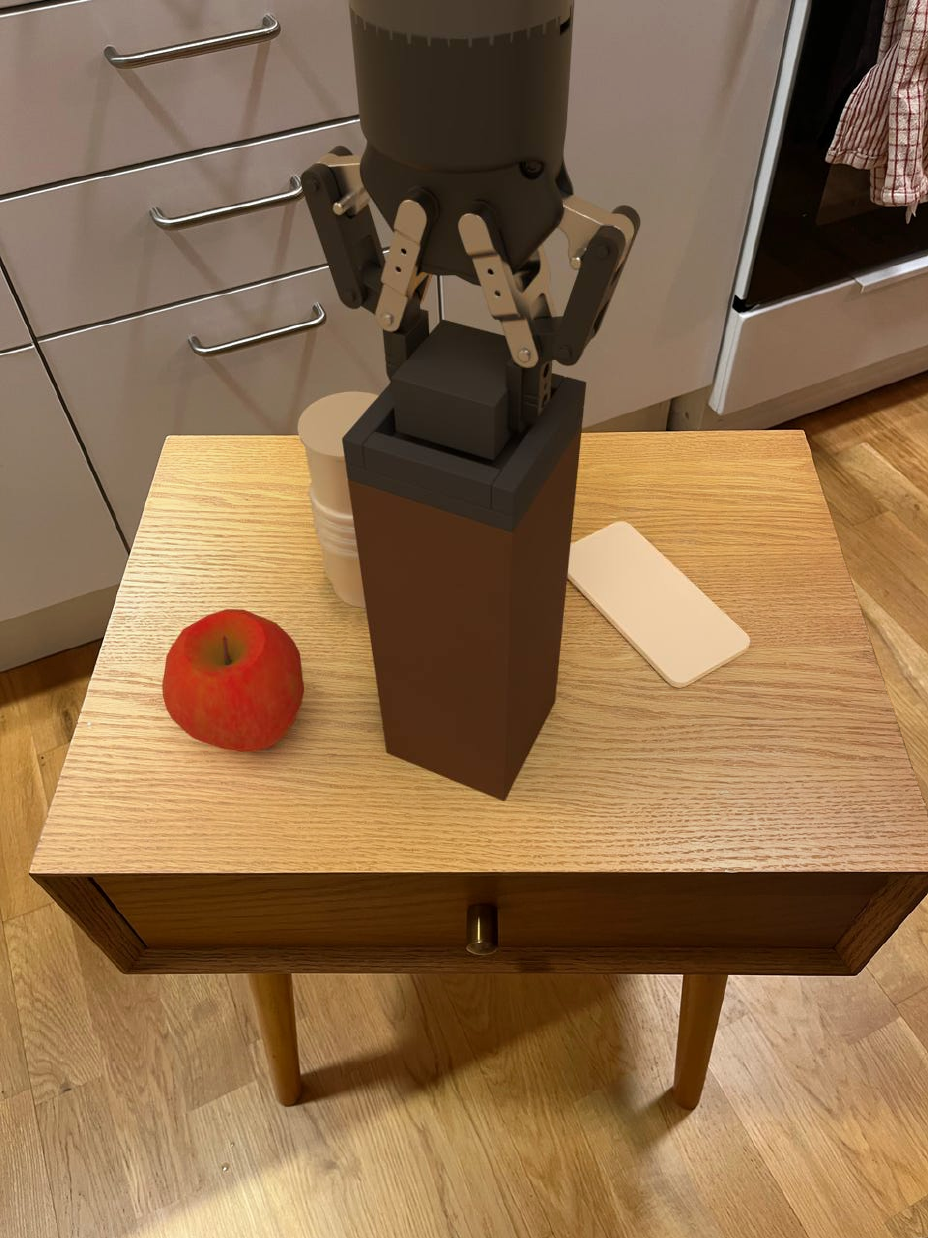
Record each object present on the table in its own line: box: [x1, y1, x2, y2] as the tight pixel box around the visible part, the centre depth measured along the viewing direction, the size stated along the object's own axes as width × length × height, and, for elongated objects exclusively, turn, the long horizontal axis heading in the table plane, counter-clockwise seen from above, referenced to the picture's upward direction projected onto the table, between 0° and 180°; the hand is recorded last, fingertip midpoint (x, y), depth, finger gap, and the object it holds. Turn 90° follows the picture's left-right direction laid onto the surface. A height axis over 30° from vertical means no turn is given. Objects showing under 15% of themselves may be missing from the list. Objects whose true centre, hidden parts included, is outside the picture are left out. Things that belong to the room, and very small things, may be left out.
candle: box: [297, 391, 379, 609], centre depth 68 cm, size 7×7×15 cm
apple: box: [161, 608, 305, 753], centre depth 61 cm, size 9×8×11 cm
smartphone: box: [567, 520, 751, 689], centre depth 72 cm, size 7×1×15 cm
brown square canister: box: [342, 372, 587, 802], centre depth 55 cm, size 9×9×26 cm
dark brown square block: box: [392, 319, 514, 460], centre depth 44 cm, size 5×5×3 cm
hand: (467, 404), depth 45 cm, fingers closed on dark brown square block, 5 cm apart
